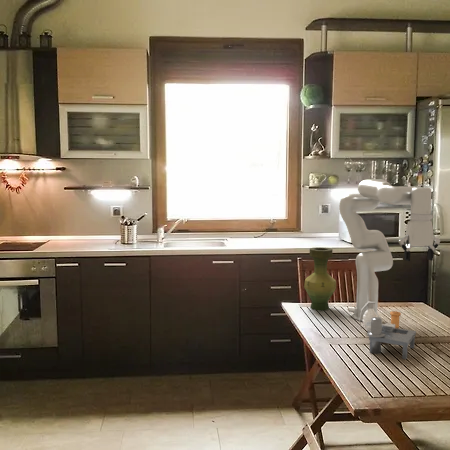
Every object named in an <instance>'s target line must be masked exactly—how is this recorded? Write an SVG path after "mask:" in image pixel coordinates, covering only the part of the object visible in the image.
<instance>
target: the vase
mask: <svg viewBox="0 0 450 450" xmlns="http://www.w3.org/2000/svg"><path fill="white" fill-rule="evenodd" d="M309 257H312V259H313V263H314V267H313V269H314V272H313V273H311V274H310V275H309V276H307V277H306V278H305V280H304V284H303V285H304V286H303V288H304V290H305V291H306V293H307V295H308V297H309V299H310V301H311V303H310V307H309V308H310V309H311V310H314V311H321V312H322V311H328V310H329V309H330V305H329V300H330V299H331V297H333V294H334V293H335V291H336V289H337V280H336V279H335V278H333V277H332V276H331V275H330V274H329V273H328V270H327V269H328V261H329V259H330V258H332V257H333V248H330V247H316V246H315V247H310V248H309Z"/></svg>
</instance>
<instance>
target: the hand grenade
mask: <svg viewBox="0 0 450 450" xmlns="http://www.w3.org/2000/svg"><path fill="white" fill-rule="evenodd" d="M373 303H374V304H375V302H367V303H366V304H365V306H364V307H363V308H362V309H361V313H360V318H359V320H358V321H359V325H360V329H361V330H362V328H364V329H365V330H366V331H367V332H368V331H371V326H366V323H367V322H371V318H372V317H378V316H377V314H378V313H377V314H376V312H375V311H374V309H373ZM367 305H368V306H367ZM366 306H367V308H368V309H367V311H366V312H365V313H364V315H363V321H360V319H361V314H362V310H363V309H364V308H365V307H366ZM361 322H362V323H361ZM362 324H363V327H362Z"/></svg>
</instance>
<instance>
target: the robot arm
mask: <svg viewBox="0 0 450 450" xmlns="http://www.w3.org/2000/svg"><path fill="white" fill-rule="evenodd" d="M357 191H358V193H350V194H346V195H344V196H342V197H341V199H340V202H339V205H338V206H339V214H340V216H341V219H342V220H343V222H344V224H345V226H346V229H347V232H348V235H349V238H350V240H351V243H352V246H353V248H354V249H355V250H356V251H362V252H360V253H359V254H357V255H356V258H355V268H356V280H357V281H356V306H355V307H352V306H348V307H347V312H349V313H353V314H352V318H353V319H354V320H357V321H359V318H360V313H361V309H362V308H363V307H364V306H365V304H366V303H367V302H375V304H374V303H373V309H374V311H375V312H376V314H377V316H378V318H381V315H379V314H378V303H379V301H378V300H379V279H378V277H377V275H376V273H377V272H382V271H383V272H385V271H389V270H390V269H392V267H393V265H394V260H393V259H394V257H393V256H392V252H391V250H390V247H389V244H388V242H387V239H386V237H385V235H384V233H383V232H382V231H380V230H378V229H368V228H367V225H366V222H365V221H364V219H363V217H361V215H360V214H358V213H357V212H370V211H371V212H372V211H373V210H375V209H376V208H377V207H378V206H379V205H380V204H381V203H382V204H387V205H394V206H400V205H401V206H402V205H403V206H405V205H410V219H409V220H408V222H407V225H406V230H405V235H404V237H402V238H400V239H398V244H399V246H400V247H401V249H402V250H403V251H404V252H403V253H404V254H403V255H404V257H403V258H404V260H405V261H406V262H411V251H410V250H411V249H412V248H413V247H417V248H418V247H427V248H428V249H427V252H426V253H427V254H426V256H427V257H426V259H427V260H428V261H431V262H432V261H433V260H434V255H435V251H436V249H437V248H438V247H439V244H440V242H441V239H440V238H438V237H436V236H434V226H433V222H432V219H433V218H434V215H433V214H432V189H431V188H430V187H426V186H425V187H423V186H422V187H421V186H412V185H411V186H408V185H407V186H405V185H403V186H402V185H400V186H393V185H392V184H391V183H390V182H388V181H387V180H385V179H380V178H374V179H373V178H371V179H369V178H368V179H364V180H362V181H360V182H359V184H358V186H357ZM375 272H376V273H375ZM367 306H368V305H367ZM367 306H366V307H365V308H364V309H363V310H362V314H361V319H360V322H363V315H364V313H365V312H366V311H367V309H368V308H367ZM381 319H382V318H381Z"/></svg>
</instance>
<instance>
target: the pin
mask: <svg viewBox="0 0 450 450" xmlns="http://www.w3.org/2000/svg"><path fill="white" fill-rule="evenodd" d="M389 314H390V316H391V317H390V324H395V328H400V317H401V315H402V313H401V312H399V311H396V310H395V311H394V310H393V311H390V312H389Z"/></svg>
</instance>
